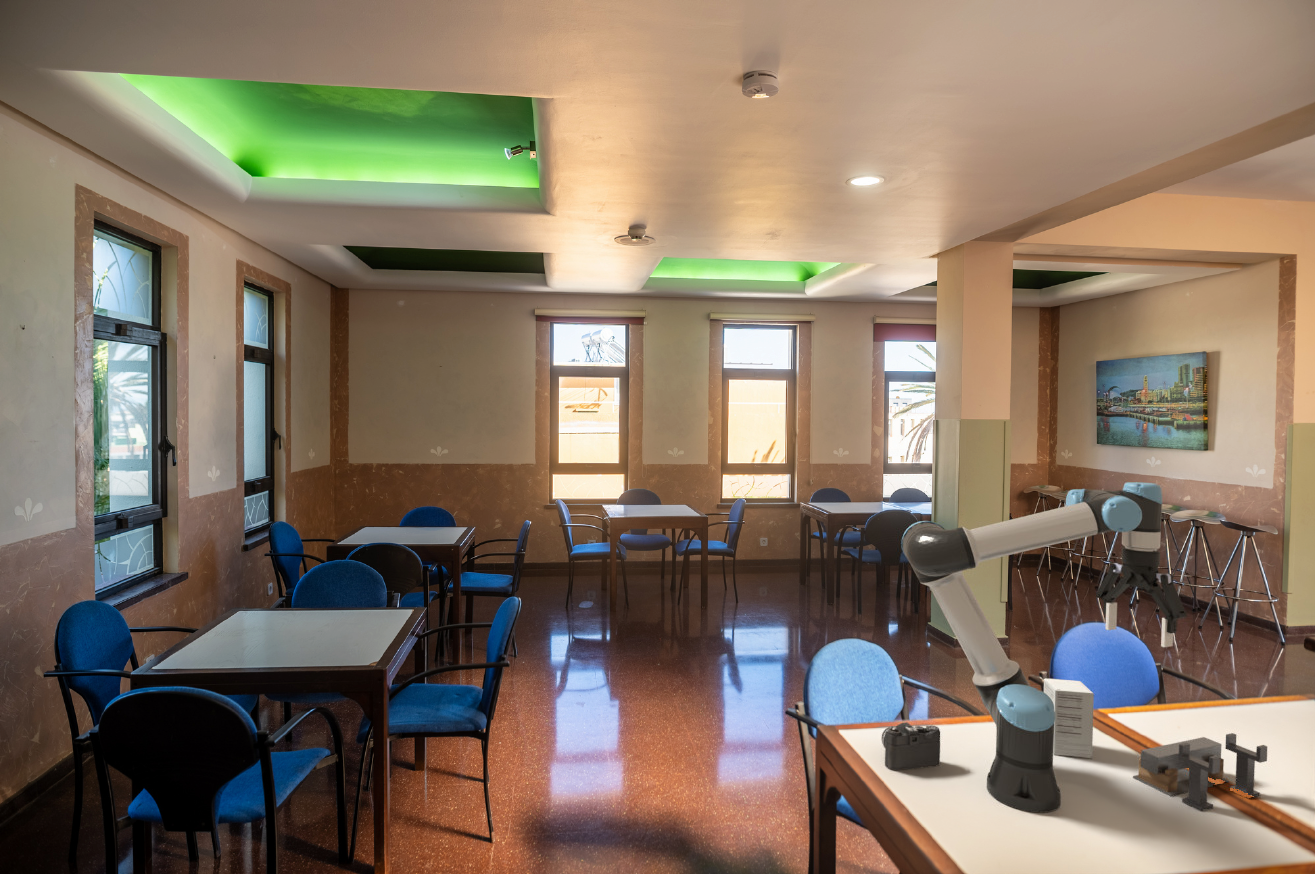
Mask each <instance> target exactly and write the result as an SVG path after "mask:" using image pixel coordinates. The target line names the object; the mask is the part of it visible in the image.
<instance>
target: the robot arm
mask: <svg viewBox="0 0 1315 874" xmlns="http://www.w3.org/2000/svg"><path fill="white" fill-rule="evenodd" d="M1163 504H1164V503H1163V491H1162V487H1161V486H1160V485H1159V484H1158V483H1157V484H1156V483H1153V482H1152V483H1151V482H1140V481H1139V482H1136V481H1134V482H1133V481H1132V482H1129V481H1128V482H1125V483H1124V485H1123V488H1122V490H1120V489H1119V490H1107V489H1105V490H1104V489H1087V488H1082V489H1081V488H1079V489H1077V488H1076V489H1070V490H1069V491H1068V492H1067V495H1066V499H1065V506H1061V507H1058V508H1054V509H1053V508H1052V509H1050V510H1045V511H1041V512H1037V513H1033V514H1029V515H1025V516H1021V517H1018V518H1017V517H1016V518H1013V519H1012V518H1011V519H1009V520H1004V521H1001V522H996V523H992V524H987V525H984V526H980V527H976V528H972V529H968V528H966V527H964V526H961V527H956V528H953V529H952V528H951V529H945V528H944V526H942V525H941V524H939V523H937V522H934V521H929V520H922V521H917V522H914V523H912V524H911V525H909V527H908V528H906V530H905V531H904V533H903V535H902V538H901V551H902V552H903V554H904V556H905V557H906V558H907V560H908V562H909V564H910V565H911V568H912V570H913V572H914V573H915V575H916V577H917V580H918V581H919V583H920V584H922V585H925V586H928V587H929V589H930V591H931V592H932V594H933V595H934V597H935V600H936V602H937V604H938V605H939V607H940V609H941V612H942V613H943V615H944V617H945V619H946V620H947V623H948V624H949V626H950V628H951V630H952V632H953V634H954V636H955V637H956V639H957V641H958V643H959V645H960V646H961V649H962V650H963V652H964V654H965V657H967V660H968V662H969V664H970V666H971V668H972V669H973V671H974V674H973V676H972V682H973V684H974V686H975V688H976V690H977V693H979V697H981V700H982V703H983V705H984V707H985V709H987V711H988V712H989V714H990V717H991V719H992V721H993V723H994V724H995V727H996V731H995V732H996V733H995V738H996V740H995V741H996V743H995V757H994V759H993V762H992V763H991V766H990V770H989V772H988V773H987V775H986V790H987V792H988V793H989V794H990V795H991V797H992V798H994V799H996V800H997V801H999V803H1000V802H1001V803H1002V804H1005V805H1007V806H1009V807H1011V808H1015V809H1018V810H1022V811H1026V812H1033V813H1049V812H1054V811H1056V810H1058V809H1059V808H1060V807H1061V803H1062V793H1061V792H1062V791H1061V789H1060V787H1059V786H1058V782H1057V778H1056V774H1055V770H1054V754H1053V746H1054V722H1055V711H1054V704H1053V701H1052V700H1051V698H1050V697H1049V696H1048V695H1047V694H1045V693H1044V691H1043V690H1039V689H1038V688H1036V687H1033V686H1031V685H1030V683H1029V681H1028V680H1027V677H1026V676H1025V674H1024V672H1023V670H1022V668H1021V666H1020V665H1019V663H1018V662H1017V661H1014V660H1011V659H1009V658H1008V656H1007V654H1006V652H1005V650H1004V648H1003V647H1002V644H1001V643H1000V640H999V639H998V637H997V636H996V634H995V631H994V630H993V628H992V625H990V622H989V621H988V618H987V617H986V615H985V613H984V612H983V609H982V607H981V606H980V604H979V602H978V600H977V598H976V596H975V594H974V593H973V591H972V589H971V587H970V585H969V583H968V582H967V580H966V578H965V576H964V574H963V571H967V570H972V569H975V568H977V567H978V566H979V564H980V563H981V562H985V561H989V560H990V561H991V560H994V559H997V558H1001V557H1002V558H1003V557H1006V556H1007V557H1008V556H1010V555H1015V554H1019V553H1023V552H1027V551H1032V550H1036V549H1040V548H1045V547H1049V546H1052V545H1057V544H1062V543H1066V542H1070V541H1073V540H1078V539H1082V538H1083V539H1084V538H1087V537H1092V536H1095V535H1098V534H1100V535H1101V534H1105V533H1110V532H1119V533H1121V545H1122V546H1124V547H1122V548H1121V563H1122V565H1121V563H1120V562H1113V563H1109V565H1108V572H1107V573H1106V575H1105V577H1104V579H1103V580H1102V582H1101V584H1100V586H1099V588H1098V590H1097V591H1096V592H1095V593H1096V594H1095V596H1096V598H1098V599H1101V600H1102V601H1103V615H1105V630H1107V631H1111V630H1114V631H1115V630H1117V621H1118V620H1117V619H1118V617H1117V616H1118V602H1116V599H1117V598H1118V597H1119V596H1120V595H1121V594H1123V592H1125V591H1126V590H1127V589H1128V588H1129V587H1132V588H1133V587H1134V588H1135V587H1136V588H1138V589H1141V590H1146V592H1147V593H1149V594H1150V596H1151V597H1152V598H1153V600H1154V601H1155V603H1156V604H1157V606H1158V607H1159V609H1160V610H1161V612H1162V614H1163V615H1164V617H1161V637H1160V639H1161V640H1160V641H1161V642H1160V643H1161V644H1160V647H1162V648H1168V647H1173V646H1174V645H1173V644H1174V634H1176V633H1177V630H1178V629H1177V626H1178V619H1185V618H1187V617H1188V616H1187V615H1188V614H1187V611H1186V610H1185V607H1184V605H1183V602H1182V600H1181V597H1180V595H1179V593H1178V590H1177V589H1176V586H1175V584H1174V575H1173V573H1160V572H1159V567H1160V565H1161V564H1160V563H1161V552H1160V550H1159V549H1160V548H1161V536H1162V535H1161V531H1162V529H1161V526H1162V512H1163V511H1162V509H1163ZM1121 573H1122V575H1123V576H1122V578H1120V580H1119V581H1118V583H1117V584H1116V585H1115V583H1116V581H1117V580H1118V577H1119V576H1120V574H1121ZM1159 583H1160V584H1159ZM1114 585H1115V586H1114ZM1113 586H1114V587H1113ZM1162 590H1163V591H1162Z"/></svg>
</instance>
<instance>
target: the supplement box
mask: <svg viewBox="0 0 1315 874" xmlns="http://www.w3.org/2000/svg"><path fill="white" fill-rule="evenodd" d="M1043 692H1044V693H1045V694H1047V695H1048V696H1049V697H1050V698H1051V700H1052V701H1053V704H1054V711H1055V722H1054V746H1053V755H1054V756H1055V755H1056V756H1066V757H1067V756H1068V757H1073V758H1074V757H1075V758H1076V757H1077V758H1085V759H1086V758H1087V759H1092V758H1093V741H1094V740H1093V739H1094V737H1093V736H1094V735H1093V734H1094V731H1093V730H1094V701H1095V700H1094V699H1095V696H1094V695H1095V693H1094V692H1093V691H1091V690H1090V689H1089V688H1088V687H1087V686H1086V685H1085V684H1084V683H1083V682H1082V681H1080V680H1072V679H1071V680H1069V679H1058V678H1044V679H1043Z"/></svg>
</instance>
